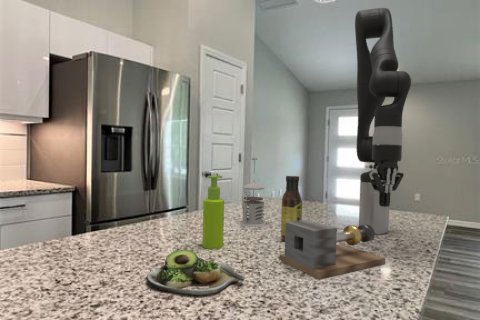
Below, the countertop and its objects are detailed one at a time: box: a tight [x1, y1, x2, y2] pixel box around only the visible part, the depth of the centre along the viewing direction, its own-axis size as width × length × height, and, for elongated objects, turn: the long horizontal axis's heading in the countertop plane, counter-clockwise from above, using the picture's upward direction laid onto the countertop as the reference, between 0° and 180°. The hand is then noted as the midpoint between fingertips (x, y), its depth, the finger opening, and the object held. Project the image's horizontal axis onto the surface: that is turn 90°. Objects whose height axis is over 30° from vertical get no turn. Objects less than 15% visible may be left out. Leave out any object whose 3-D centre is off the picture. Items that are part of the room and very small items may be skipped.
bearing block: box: [278, 219, 386, 280], centre depth 85 cm, size 22×14×10 cm, turn 121°
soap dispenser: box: [201, 174, 225, 250], centre depth 97 cm, size 6×7×20 cm
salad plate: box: [146, 249, 246, 296], centre depth 72 cm, size 19×18×5 cm
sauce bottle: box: [280, 175, 303, 242], centre depth 105 cm, size 7×6×20 cm
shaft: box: [336, 225, 376, 246], centre depth 87 cm, size 20×5×5 cm, turn 121°
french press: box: [239, 156, 267, 228], centre depth 126 cm, size 10×12×25 cm
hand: (384, 206), depth 95 cm, fingers closed
